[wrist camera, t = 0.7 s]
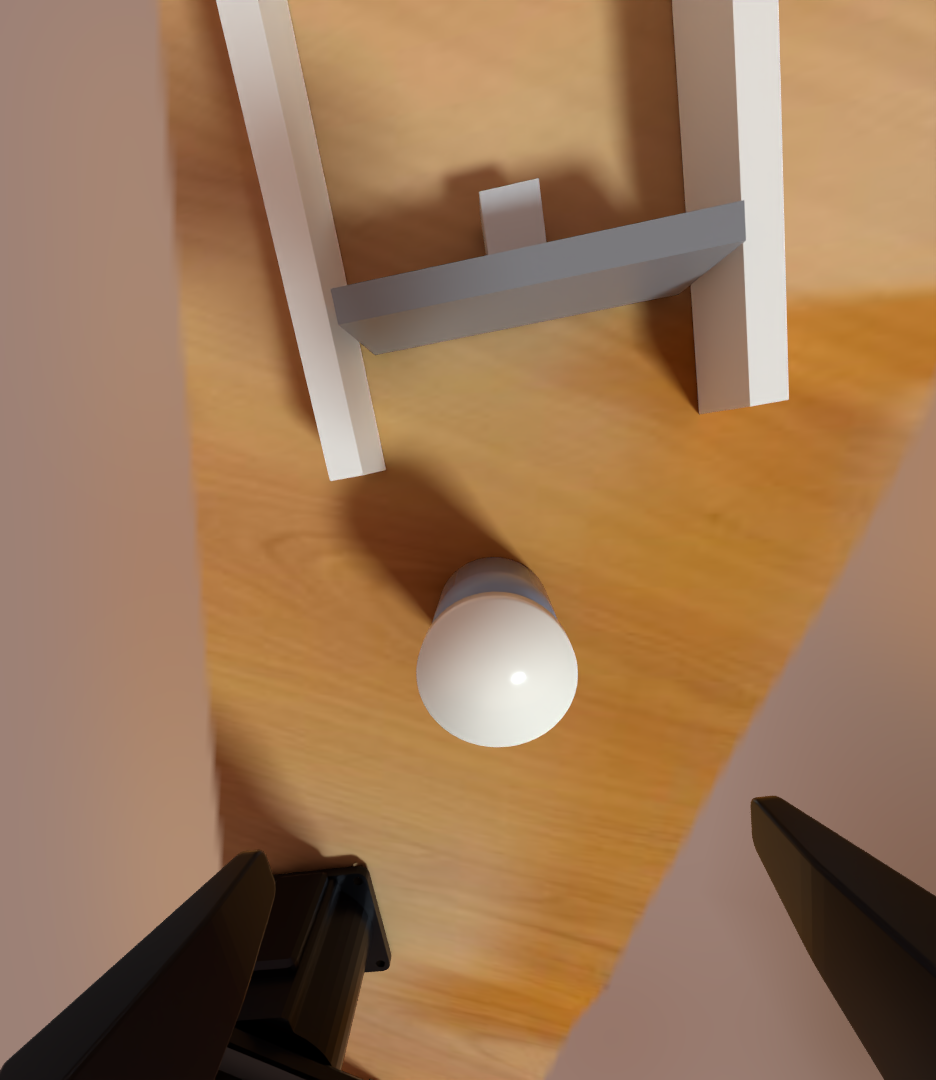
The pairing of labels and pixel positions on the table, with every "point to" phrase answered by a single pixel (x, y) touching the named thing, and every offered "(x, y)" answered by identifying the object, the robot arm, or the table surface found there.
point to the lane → (709, 180)
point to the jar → (496, 657)
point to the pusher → (536, 273)
